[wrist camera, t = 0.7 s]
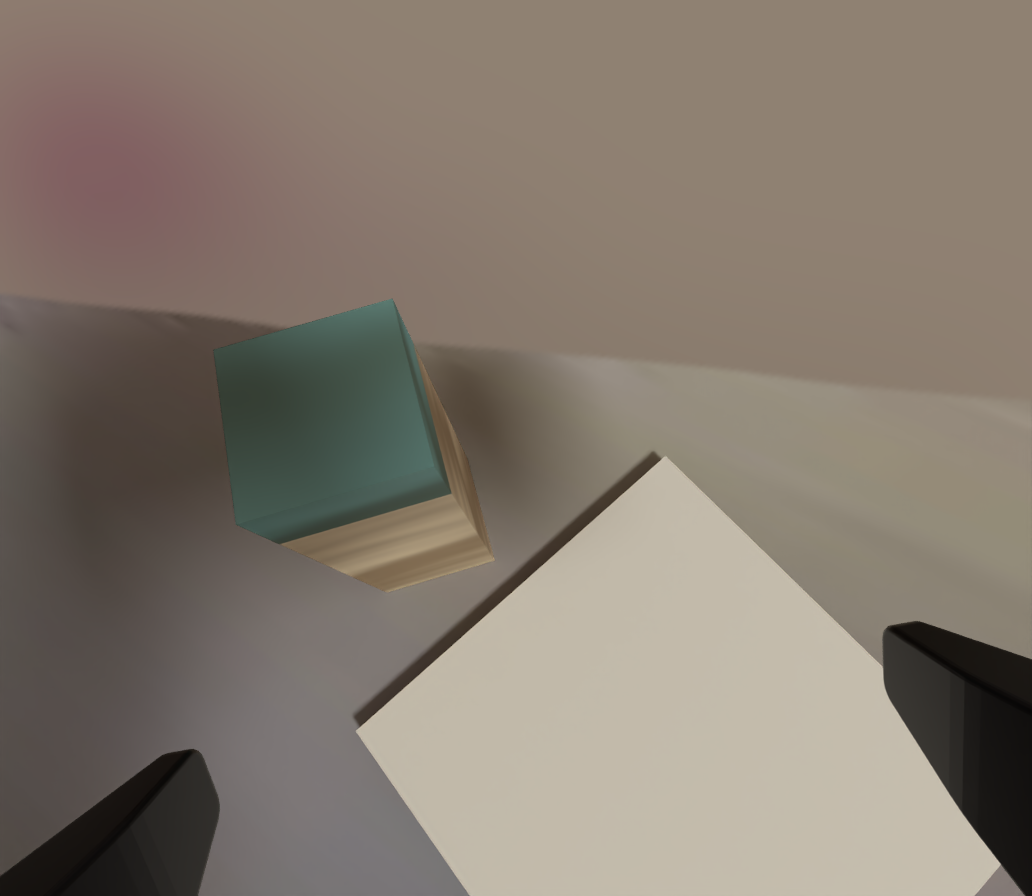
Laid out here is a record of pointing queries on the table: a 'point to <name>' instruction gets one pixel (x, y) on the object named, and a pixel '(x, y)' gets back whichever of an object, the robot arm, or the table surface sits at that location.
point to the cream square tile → (669, 730)
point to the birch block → (349, 450)
